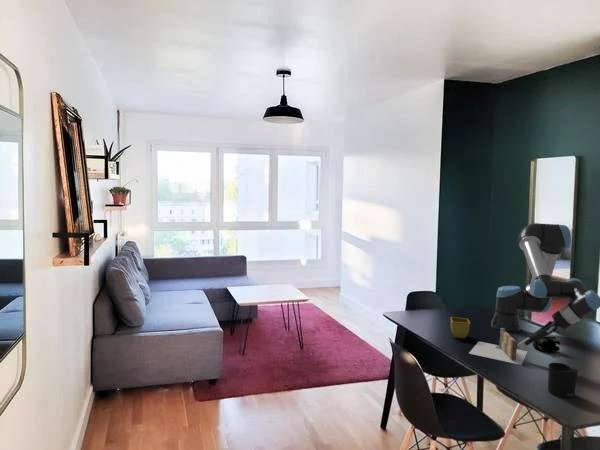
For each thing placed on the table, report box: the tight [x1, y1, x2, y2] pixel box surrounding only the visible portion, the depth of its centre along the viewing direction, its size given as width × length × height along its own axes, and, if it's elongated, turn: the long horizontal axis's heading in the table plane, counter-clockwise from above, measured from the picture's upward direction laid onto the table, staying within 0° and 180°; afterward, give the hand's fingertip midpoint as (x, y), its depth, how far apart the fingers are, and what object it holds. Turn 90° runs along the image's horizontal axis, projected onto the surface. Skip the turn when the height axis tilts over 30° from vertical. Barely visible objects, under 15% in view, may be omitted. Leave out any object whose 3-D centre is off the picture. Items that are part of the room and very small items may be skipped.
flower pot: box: [449, 316, 471, 339], centre depth 239 cm, size 9×9×9 cm
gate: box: [499, 328, 518, 360], centre depth 215 cm, size 19×2×9 cm, turn 173°
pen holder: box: [547, 362, 579, 399], centre depth 175 cm, size 9×9×10 cm
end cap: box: [531, 336, 561, 355], centre depth 224 cm, size 10×7×7 cm
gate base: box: [468, 341, 528, 365], centre depth 217 cm, size 22×22×1 cm
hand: (519, 347), depth 209 cm, fingers closed
